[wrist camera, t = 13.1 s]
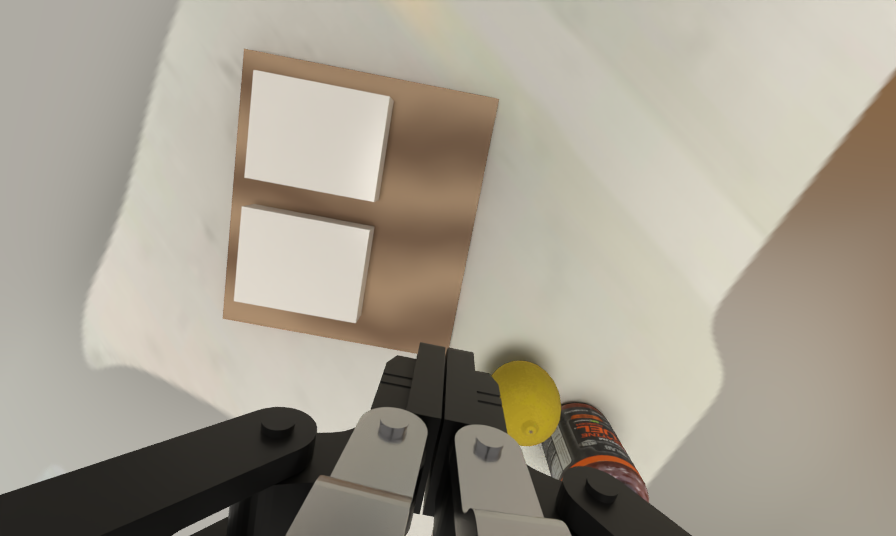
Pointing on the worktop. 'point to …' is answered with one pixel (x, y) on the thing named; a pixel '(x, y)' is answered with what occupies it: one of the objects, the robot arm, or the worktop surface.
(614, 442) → the supplement bottle
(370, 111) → the tile near
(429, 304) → the board
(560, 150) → the worktop surface
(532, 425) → the lemon
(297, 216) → the tile far
